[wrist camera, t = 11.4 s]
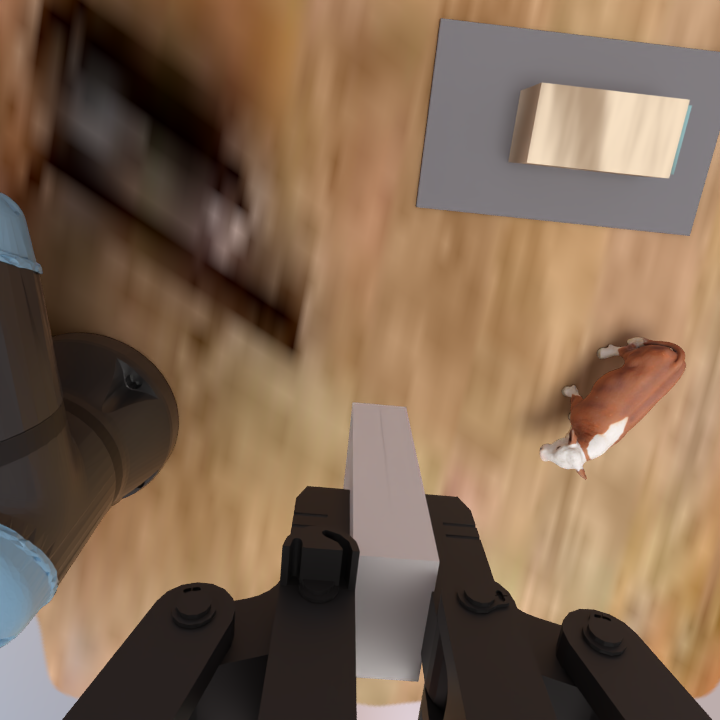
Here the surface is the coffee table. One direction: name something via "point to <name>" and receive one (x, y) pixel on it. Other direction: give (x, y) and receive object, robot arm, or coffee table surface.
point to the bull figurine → (616, 400)
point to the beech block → (599, 130)
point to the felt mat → (551, 184)
